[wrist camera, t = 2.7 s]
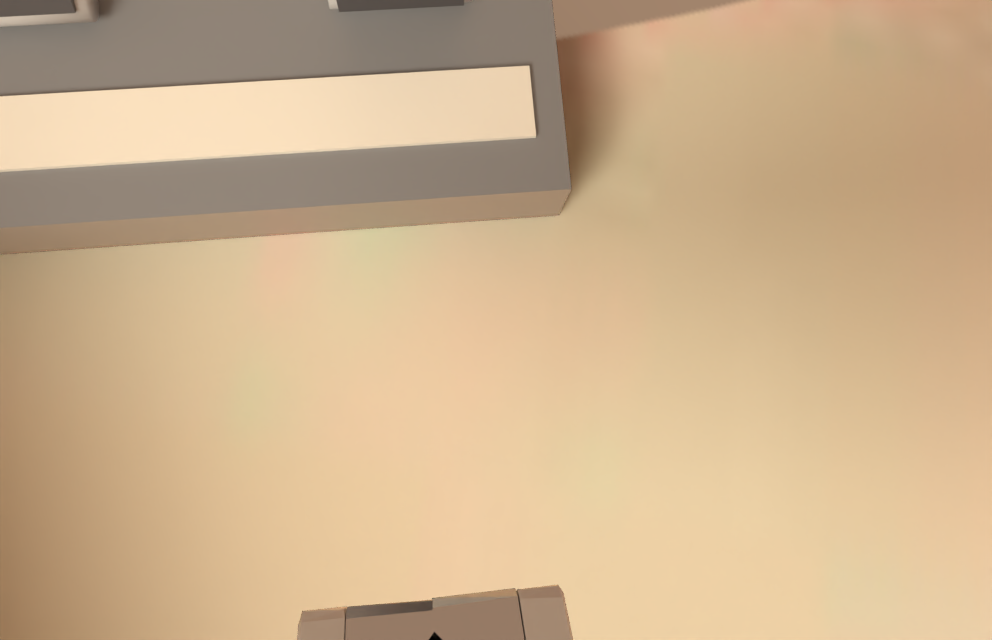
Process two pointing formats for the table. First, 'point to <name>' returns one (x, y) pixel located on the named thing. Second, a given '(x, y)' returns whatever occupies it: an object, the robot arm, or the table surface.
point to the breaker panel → (276, 121)
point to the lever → (47, 12)
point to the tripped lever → (390, 4)
